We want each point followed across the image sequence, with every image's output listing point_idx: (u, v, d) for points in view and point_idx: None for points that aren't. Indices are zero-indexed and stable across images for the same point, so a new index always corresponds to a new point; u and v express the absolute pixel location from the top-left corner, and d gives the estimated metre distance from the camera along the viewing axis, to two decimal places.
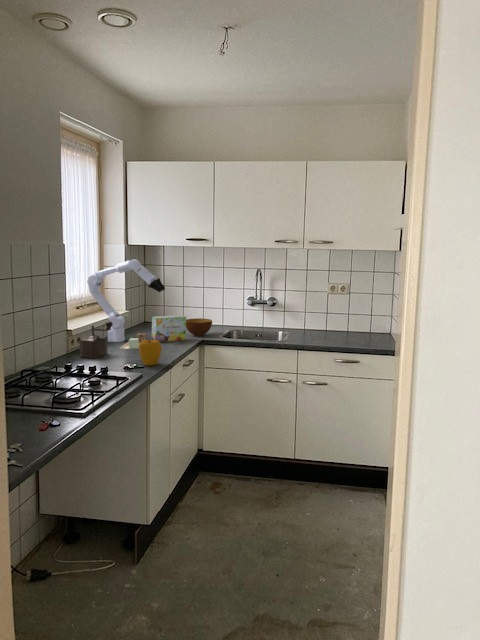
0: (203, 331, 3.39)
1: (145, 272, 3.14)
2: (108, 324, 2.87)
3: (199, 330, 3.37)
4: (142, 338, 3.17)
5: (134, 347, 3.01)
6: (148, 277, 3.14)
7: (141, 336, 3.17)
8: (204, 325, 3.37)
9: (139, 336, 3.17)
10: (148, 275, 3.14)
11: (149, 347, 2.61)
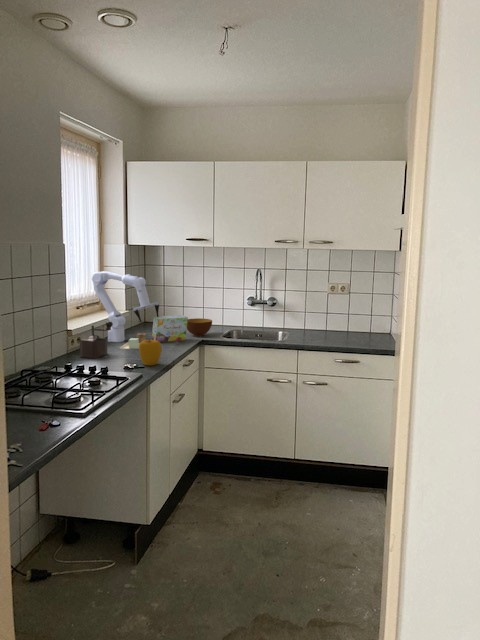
0: (203, 331, 3.39)
1: (143, 296, 3.13)
2: (108, 324, 2.87)
3: (199, 330, 3.37)
4: (142, 338, 3.17)
5: (134, 347, 3.01)
6: (140, 303, 3.15)
7: (141, 336, 3.17)
8: (204, 325, 3.37)
9: (139, 336, 3.17)
10: (140, 301, 3.14)
11: (149, 347, 2.61)
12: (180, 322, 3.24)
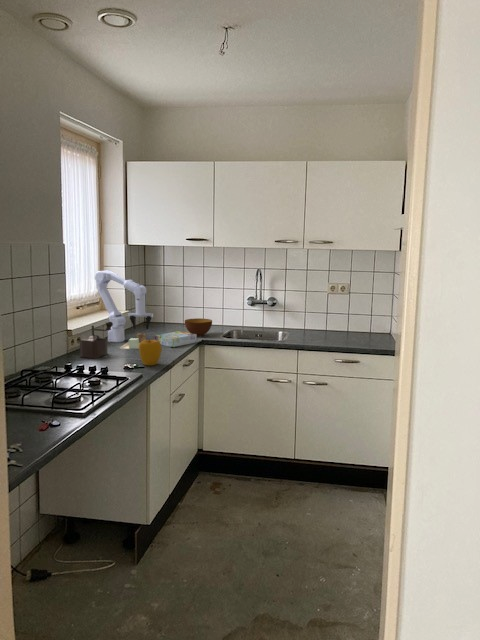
0: (203, 331, 3.39)
1: (141, 305, 3.13)
2: (108, 324, 2.87)
3: (199, 330, 3.37)
4: (142, 338, 3.17)
5: (134, 347, 3.01)
6: None
7: (141, 336, 3.17)
8: (204, 325, 3.37)
9: (139, 336, 3.17)
10: (136, 309, 3.15)
11: (149, 347, 2.61)
12: None
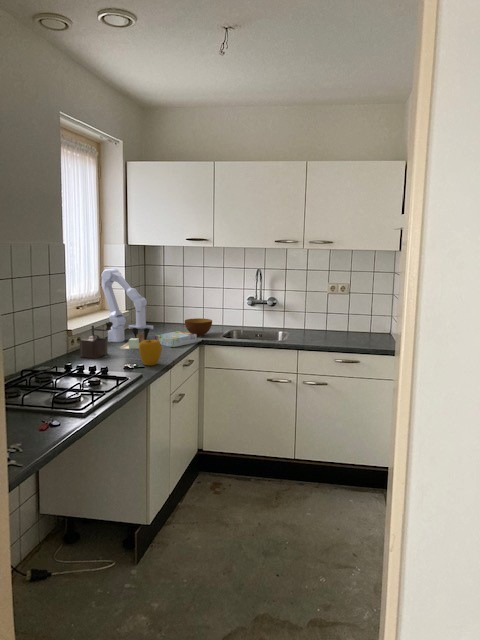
0: (203, 331, 3.39)
1: (141, 317, 3.14)
2: (108, 324, 2.87)
3: (199, 330, 3.37)
4: (142, 338, 3.17)
5: (134, 347, 3.01)
6: (136, 322, 3.17)
7: (141, 336, 3.17)
8: (204, 325, 3.37)
9: (139, 336, 3.17)
10: (136, 321, 3.16)
11: (149, 347, 2.61)
12: None
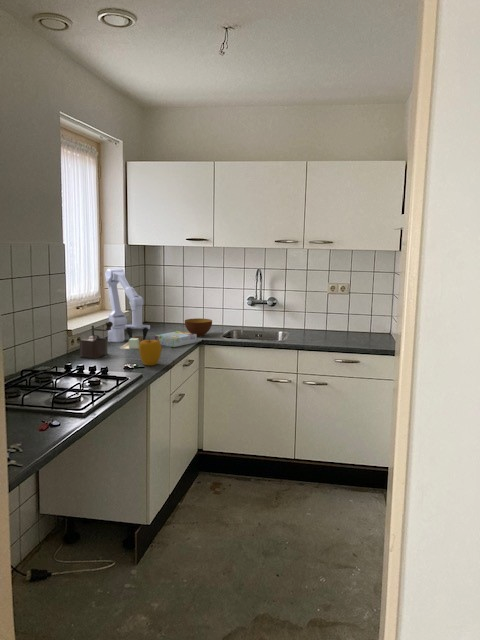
0: (203, 331, 3.39)
1: (135, 317, 3.06)
2: (108, 324, 2.87)
3: (199, 330, 3.37)
4: (139, 341, 3.09)
5: (134, 347, 3.01)
6: (132, 322, 3.09)
7: None
8: (204, 325, 3.37)
9: None
10: (132, 321, 3.08)
11: (149, 347, 2.61)
12: None
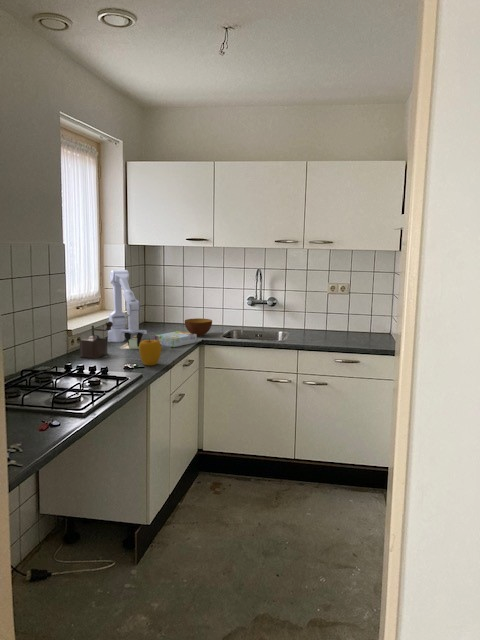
0: (203, 331, 3.39)
1: (130, 322, 2.99)
2: (108, 324, 2.87)
3: (199, 330, 3.37)
4: None
5: (134, 347, 3.01)
6: (128, 327, 3.01)
7: None
8: (204, 325, 3.37)
9: None
10: (128, 326, 3.00)
11: (149, 347, 2.61)
12: None
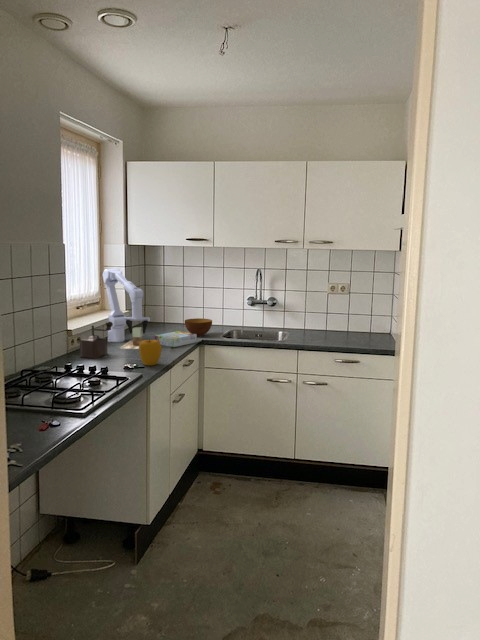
0: (203, 331, 3.39)
1: (135, 309, 3.06)
2: (108, 324, 2.87)
3: (199, 330, 3.37)
4: (139, 341, 3.09)
5: (137, 336, 3.08)
6: (132, 314, 3.08)
7: (137, 339, 3.09)
8: (204, 325, 3.37)
9: (135, 338, 3.09)
10: (132, 313, 3.07)
11: (149, 347, 2.61)
12: None
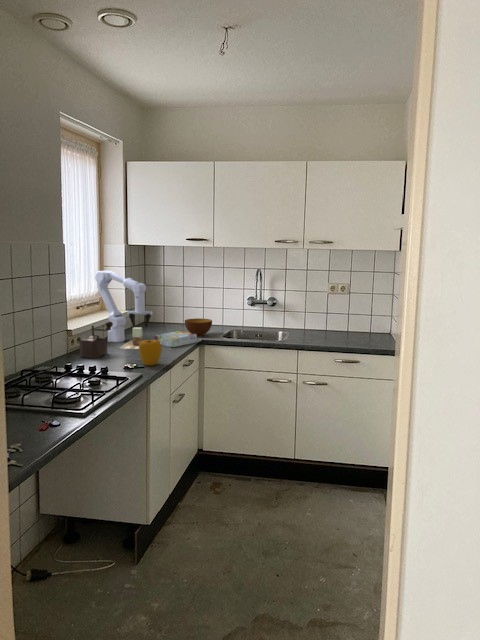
0: (203, 331, 3.39)
1: (139, 303, 3.12)
2: (108, 324, 2.87)
3: (199, 330, 3.37)
4: (139, 341, 3.09)
5: (137, 336, 3.08)
6: (135, 308, 3.14)
7: (137, 339, 3.09)
8: (204, 325, 3.37)
9: (135, 338, 3.09)
10: (135, 307, 3.13)
11: (149, 347, 2.61)
12: None
